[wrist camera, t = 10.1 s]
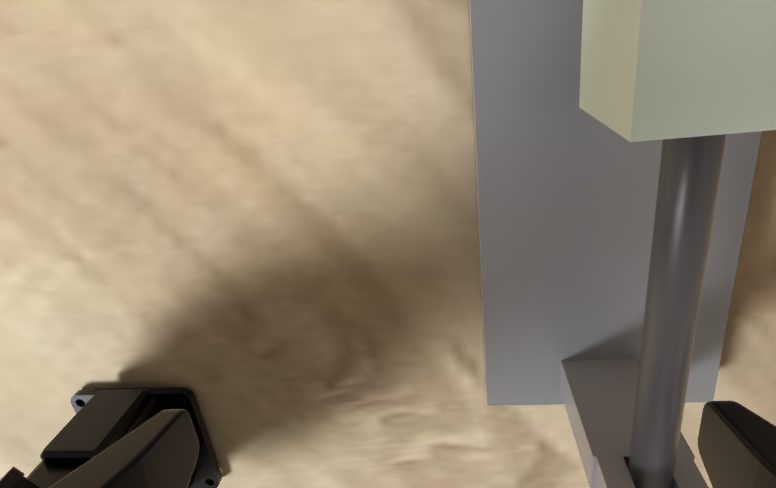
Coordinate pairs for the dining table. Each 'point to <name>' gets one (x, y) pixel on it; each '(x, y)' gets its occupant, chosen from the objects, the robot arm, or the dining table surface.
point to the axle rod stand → (598, 250)
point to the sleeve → (679, 67)
